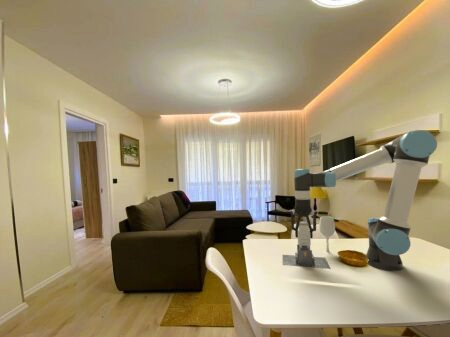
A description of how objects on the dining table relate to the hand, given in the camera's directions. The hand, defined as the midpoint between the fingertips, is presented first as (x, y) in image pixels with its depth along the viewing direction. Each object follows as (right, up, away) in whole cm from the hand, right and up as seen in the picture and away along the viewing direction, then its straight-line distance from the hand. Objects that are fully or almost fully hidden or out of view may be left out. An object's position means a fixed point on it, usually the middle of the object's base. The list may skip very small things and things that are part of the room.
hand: (304, 243), depth 113 cm
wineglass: (+18, -10, +12) cm, 24 cm away
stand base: (0, -10, 0) cm, 10 cm away
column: (0, -8, 0) cm, 8 cm away
